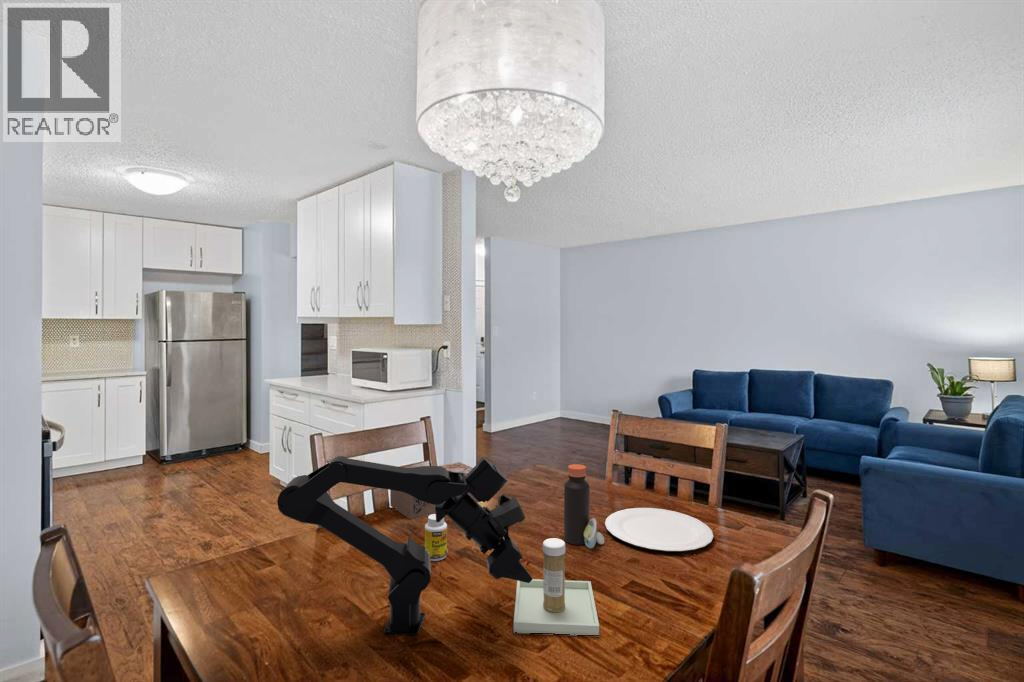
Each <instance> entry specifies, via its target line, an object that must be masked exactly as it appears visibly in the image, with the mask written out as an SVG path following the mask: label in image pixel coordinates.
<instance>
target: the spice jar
mask: <svg viewBox="0 0 1024 682" xmlns="http://www.w3.org/2000/svg"><path fill="white" fill-rule="evenodd" d="M542 554H543V567H542V568H543V579H542V580H543V591H544V602H543V607H544V608H545V609H546V610H547V611H549V612H560V611H562V610H564V608H565V580H566V576H565V571H566V570H565V554H566V541H565V540H564V539H561V538H556V537H552V538H551V537H550V538H547V539H545V540H544V541H542Z"/></svg>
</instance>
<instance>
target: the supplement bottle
mask: <svg viewBox="0 0 1024 682" xmlns="http://www.w3.org/2000/svg"><path fill="white" fill-rule="evenodd" d="M424 546H425V551H426V552H427V553H428V554H429V557H430V562H438V561H442V560H444V559H445V558H446V557H447V554H448V524H447V522H446V521H445V517H444V518H443V519H442V520H441V521H440V522H436V514H431V515H428V517H427V523H425V525H424Z"/></svg>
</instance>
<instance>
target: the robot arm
mask: <svg viewBox="0 0 1024 682" xmlns="http://www.w3.org/2000/svg"><path fill="white" fill-rule="evenodd" d="M476 463H477V464H476V465H474V467H472V468H473V469H472V470H471V471H470V472H469V473H468V474H467V475H465V473H460V472H450V471H447V470H446V469H445V468H444V467H441V466H442V465H424V466H423V465H421V466H414V467H401V466H398V465H390V464H384V463H378V462H372V461H365V460H360V459H355V458H354V459H353V458H348V457H347V456H344V455H342V456H341V455H340V456H339V455H338V456H336V457H334V458H333V459H331V461H329V462H327V463H325V464H324V465H322V466H320V467H318V468H316V469H315V470H313V471H312V472H310V473H309V474H304V475H297V476H295V477H293V478H292V479H291V480H290V481H289V482H288V484H286V486H285V487H284V488H283V489H282V491H281V492H280V493H279V495H278V496H277V502H276V503H277V507H278V508H277V509H278V511H279V512H280V513H281V515H283V516H285V517H286V518H290V519H292V520H295V521H297V522H299V523H302V524H308V525H309V524H311V525H314V526H315V525H317V526H319V527H321V528H323V529H324V530H326V531H327V532H328V533H330V534H332V535H333V536H336V537H337V538H339V539H340V540H341V541H343V542H345V543H347V544H348V545H350V546H351V547H353V548H354V549H356V550H358V551H359V552H361V553H362V554H363V555H365V556H367V557H369V558H371V559H372V560H374V561H375V562H376V563H378V564H380V565H381V566H382V567H383V568H384V569H385V572H387V574H388V575H389V576H390V580H389V587H388V593H387V594H388V595H387V599H388V601H389V620H388V622H387V623H386V625H385V628H384V629H383V633H384V635H402V636H403V635H404V636H405V635H406V636H417V635H418V634H420V630H421V627H422V625H423V622H424V621H425V620H424V619H425V617H426V612H421V593H422V591H425V589H426V588H427V587H428V586H429V585H430V582H431V578H432V576H431V575H432V574H431V572H432V571H431V566H432V565H431V562H432V561H430V557H429V554H428V553H427V552H426V551H425V545H420V544H419V543H416V541H415V540H413V538H411V537H408V538H407V539H406V542H398V541H395V540H393V539H392V538H390V537H388V536H387V535H385V534H384V533H383V532H381V531H379V530H378V529H376V528H375V527H373V526H372V525H370V524H369V523H367V522H365V521H364V520H362V519H361V518H359V517H358V516H356V515H355V514H353V513H351V512H350V511H348V510H346V509H345V508H343V507H342V506H341V505H339V504H337V503H336V502H335V501H334V500H333V499H332V497H331V496H330V495H329V493H328V491H330V490H331V489H332V488H333V487H335V486H336V485H338V484H340V483H344V484H350V485H357V486H363V487H371V488H378V489H383V490H389V491H390V490H395V491H401V492H404V493H407V494H409V495H410V496H412V497H414V498H416V499H418V500H421V501H424V502H427V503H430V504H433V505H435V510H436V522H440V521H441V520H442V519H443V518H444V519H445V517H446V516H447V517H448V519H450V520H451V521H452V522H453V523H454V524H455V525H456V526H457V527H458V528H459V529H460V530H462V531H463V533H464V535H465V538H466V539H467V540H468V541H473V542H474V543H475V544H476V545H477V546H479V551H480V552H481V553H482V554H483V555H485V554H487V553H488V551H491V552H490V554H488V556H487V557H486V566H487V570H488V573H489V574H490V575H491V576H492V577H493V578H494V579H495V580H500V579H511V580H514V581H517V580H518V581H522V582H526V583H530V582H531V581H532V579H533V577H532V576H531V575H530V572H529V571H528V570H527V569H526V567H525V566H524V564H523V563H522V562H521V560H522V558H523V554H522V553H521V552H520V549H519V547H518V546H517V545H516V544H515V543H514V541H513V539H512V538H511V537H510V534H509V528H510V527H513V526H514V525H516V524H517V523H522V522H523V521H525V519H526V515H525V513H524V511H523V509H522V507H521V505H520V503H519V501H518V499H517V498H516V497H514V496H512V497H510V496H508V494H505V493H502V494H501V495H498V497H497V499H498V500H497V504H496V505H495V507H494V508H493V509H490V508H488V506H482V505H480V504H479V503H481V501H482V502H483V503H486V502H487V503H488V502H490V501H491V499H492V498H494V496H495V495H496V494H497V493H498V492H499V491H500V490H501V489H502V488H503V487H504V486H505V485H507V483H508V482H509V479H508V477H507V476H506V475H505V474H504V473H503V472H502V471H501V469H499V467H497V465H495V464H493V463H492V462H491V461H489V460H488V459H486V458H485V457H484V456H482V457H481V458H480V459H479V460H478V461H477V462H476ZM468 492H470V493H471V494H472V495H473V496H474V497H475V498H476V499H477V500H478V501H479V502H478V503H477V502H476V501H475V500H474V499H473V498H472V497H471V496H470V495H469V494H468Z"/></svg>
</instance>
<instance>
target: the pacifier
mask: <svg viewBox="0 0 1024 682" xmlns="http://www.w3.org/2000/svg"><path fill="white" fill-rule="evenodd" d="M597 525H598V524H597V520H596V518H595V517H591V518H589V522H588V525H587V526H586V528H585V531H584V541H585V544H584V545H585V546H586V548H588V549H593V548H594V547H595V546H596V543H597V544H599V545H604V544H605V538H604V535H603V534H602V533H601V532H599V531H598V532H597V528H598V527H597ZM587 540H588V542H587Z"/></svg>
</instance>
